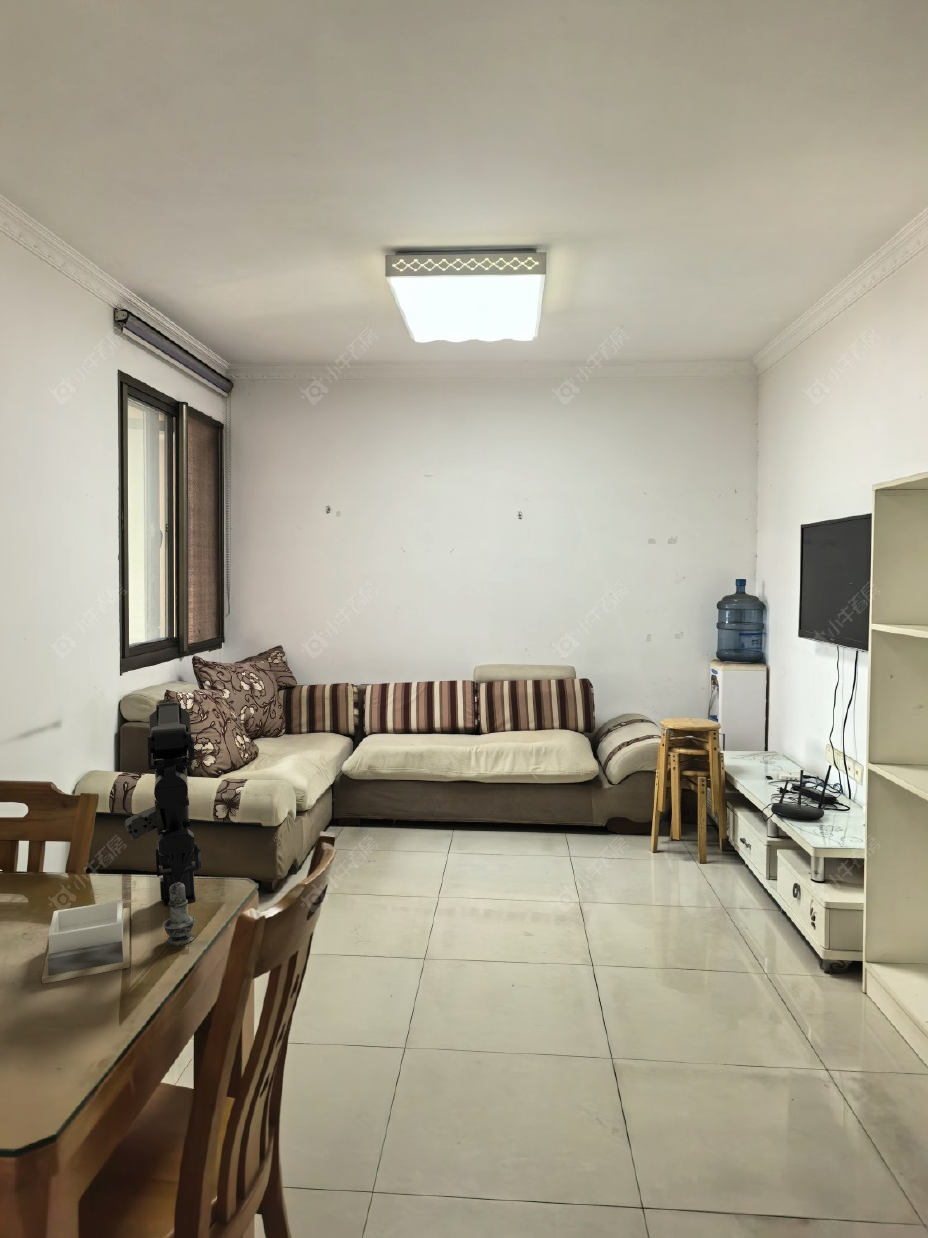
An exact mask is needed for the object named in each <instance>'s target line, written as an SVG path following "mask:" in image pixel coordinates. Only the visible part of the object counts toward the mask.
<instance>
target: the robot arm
mask: <svg viewBox="0 0 928 1238" xmlns="http://www.w3.org/2000/svg"><path fill="white" fill-rule="evenodd" d="M155 705H156V706H155V707H156V710H155V711H153V712H152V713H151V714H150V715H149V716H148V718H149V719H148V721H149V722H148V724H149V726H148V727H149V728H148V729H149V735H147V759H148V760H147V761H148V763H147V765H148V767H147V769H148V771H154V770H155V771H154V780H155V781H154V787H153V788H154V790H153V794H154V798H155V799H154V806H152V807H149V808H147V809H144V810H143V811H140V812H138V813H136V814H133V815H132V816H130V817H128V818H126V819H125V821H124V826H125V828H126V830H127V833H128V835H129V837H130V839H131V840H132V841H134V840H137V839H139V838H140V837H141V836H143V835H145V834H147V833H149V832H152V831H153V830H156V834H157V835H158V837H157V847H155V863H156V877H160V878H159V892H160V901H161V902H163V906H164V907H165V906H169V905H168V903H169V902H170V886H171V885H173V884H174V883H178V882H179V883H182V884H184V885H185V897H186V899H187V900H188V902H187V903H190V902H195V901H196V900H197V898H196V891H195V879H194V878H195V877H194V875H195V874H194V872H199V870H200V869H201V868H202V856H201V855H202V853H201V849H200V847H199V846H198V844H197V842H195V836H194V832H193V831H191V830H190V827H191V820H190V807H189V806H190V800H189V785H188V769H187V767H191V766H193V763H192V762H193V761H195V760H196V756H195V741H194V740H195V739H194V737H193V736H192V730H191V729H192V728H191V714H190V712H189V711H188V710H186V709H184V708H183V707H182V702H179V701H174V702H173V701H172V702H171V701H170V702H160V703H158V704H155ZM187 757H188V759H187ZM152 761H153V762H152Z"/></svg>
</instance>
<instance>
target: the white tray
mask: <svg viewBox="0 0 928 1238" xmlns="http://www.w3.org/2000/svg"><path fill="white" fill-rule="evenodd" d="M47 936H48V938H47V939H48V949H49V954H52V953H58V952H63V951H69V950H74V949H80V948H86V947H91V946H97V945H102V944H108V943H114V942H119V941H122V945H123V900H114V901H110V902H109V901H108V902H102V903H96V904H95V903H94V904H89V905H83V906H77V907H71V908H65V909H64V908H63V909H58V910H53V914H52V919H51V923H50V927H49V932H48V935H47Z"/></svg>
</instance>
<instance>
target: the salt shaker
mask: <svg viewBox="0 0 928 1238" xmlns="http://www.w3.org/2000/svg"><path fill="white" fill-rule="evenodd" d="M188 903H189V902H188V900H187V899H186V897H185V885H184V884H182V883H179V882H178V883H174V884H173V885H171V886H170V902H169V903H168V905H167V906H169V917H168V918H167V919H166V920H165V921H164V922H163V923H162V927H163V928H164V930H165V931H164V932H165V933H166V934H167V935H168V936H169V937H167V939H166V940H165V945H167V946H169V947H180V945H181V946H184V945H183V944H185V945H187V944H186V943H188V942H190V941H192V940H193V939H194V940H195V935H194V934H192V933H191V931H192V930H193V927H194V923H195V922H196V919H195V917H194V916H191V915H188V911H187V904H188ZM194 940H193V941H194ZM193 941H192V942H193ZM190 943H191V942H190ZM188 944H189V943H188Z"/></svg>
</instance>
